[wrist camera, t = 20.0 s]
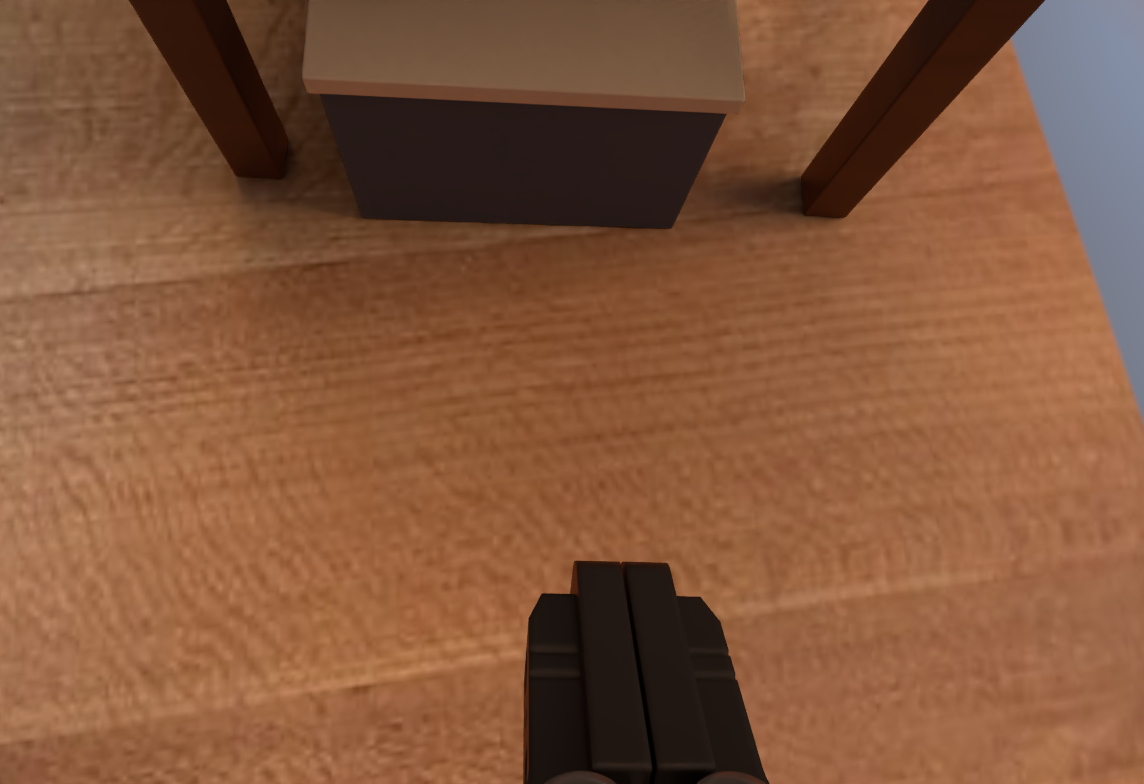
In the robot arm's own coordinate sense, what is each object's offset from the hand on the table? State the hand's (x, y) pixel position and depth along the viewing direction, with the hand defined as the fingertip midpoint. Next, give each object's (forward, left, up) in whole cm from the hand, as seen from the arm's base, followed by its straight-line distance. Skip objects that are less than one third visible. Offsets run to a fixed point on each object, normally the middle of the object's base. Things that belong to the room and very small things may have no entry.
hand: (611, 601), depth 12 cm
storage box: (-7, -15, -10) cm, 19 cm away
